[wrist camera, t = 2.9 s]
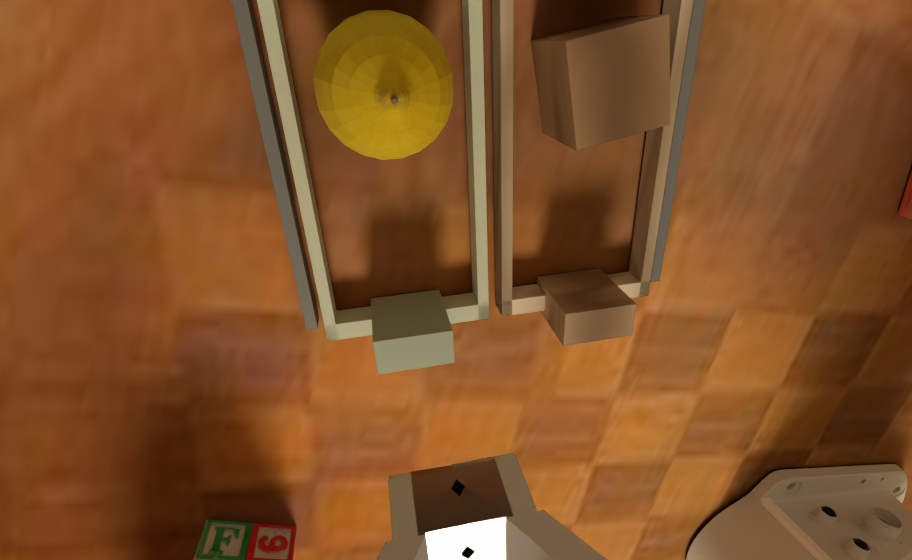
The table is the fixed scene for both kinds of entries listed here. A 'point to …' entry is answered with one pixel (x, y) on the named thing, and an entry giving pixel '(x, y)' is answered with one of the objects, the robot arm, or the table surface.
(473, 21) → the frame
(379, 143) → the fruit
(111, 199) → the table surface
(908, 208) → the cracker box
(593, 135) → the walnut cube
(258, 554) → the stack of blocks
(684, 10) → the frame
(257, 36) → the lane guides
